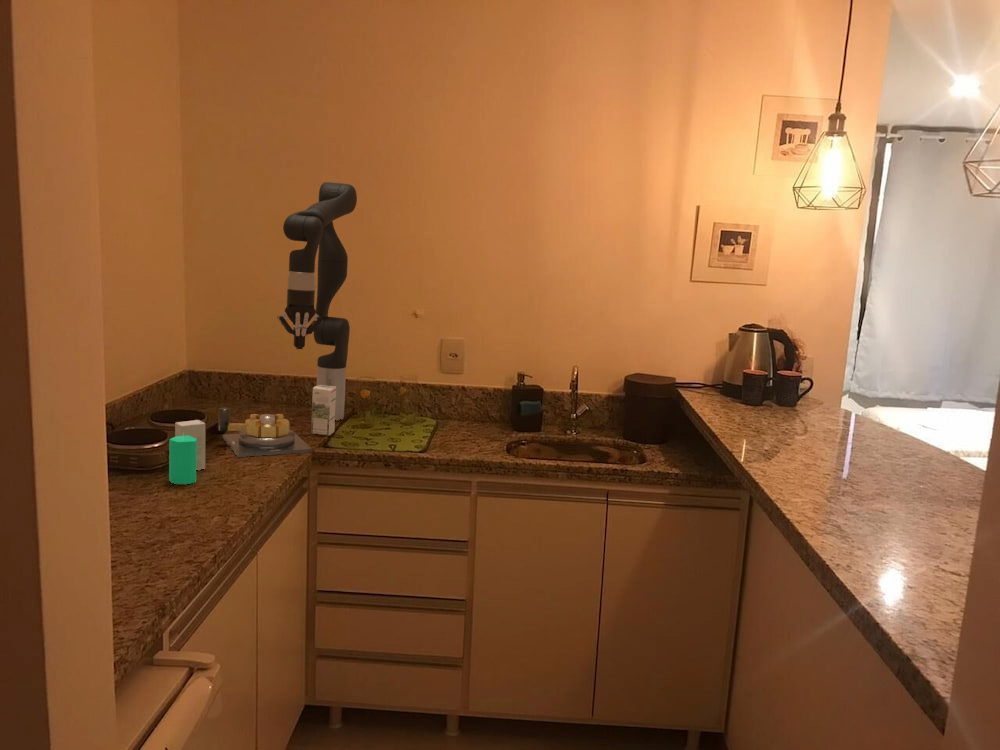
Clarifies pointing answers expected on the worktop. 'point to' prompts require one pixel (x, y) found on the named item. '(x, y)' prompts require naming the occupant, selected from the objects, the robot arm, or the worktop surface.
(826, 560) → the worktop surface
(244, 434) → the bearing housing
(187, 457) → the candle
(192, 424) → the skincare box
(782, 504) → the worktop surface
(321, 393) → the syrup box
